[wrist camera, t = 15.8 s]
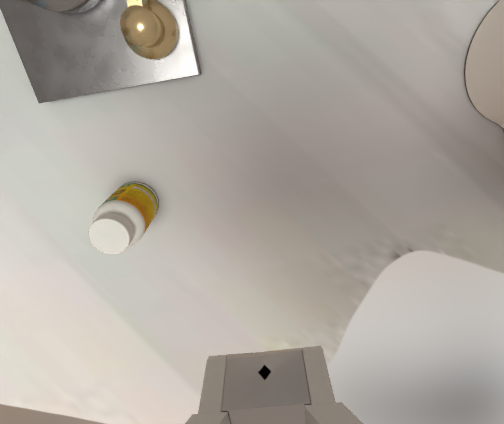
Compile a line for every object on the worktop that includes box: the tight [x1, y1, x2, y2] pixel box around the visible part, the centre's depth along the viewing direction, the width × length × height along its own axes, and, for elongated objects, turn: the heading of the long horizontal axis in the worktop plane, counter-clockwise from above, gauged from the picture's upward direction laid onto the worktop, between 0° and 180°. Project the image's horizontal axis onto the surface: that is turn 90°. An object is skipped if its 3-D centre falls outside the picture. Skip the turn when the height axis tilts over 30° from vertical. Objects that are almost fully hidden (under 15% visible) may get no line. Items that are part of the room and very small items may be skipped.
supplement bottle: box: [88, 182, 158, 254], centre depth 37 cm, size 5×5×10 cm
